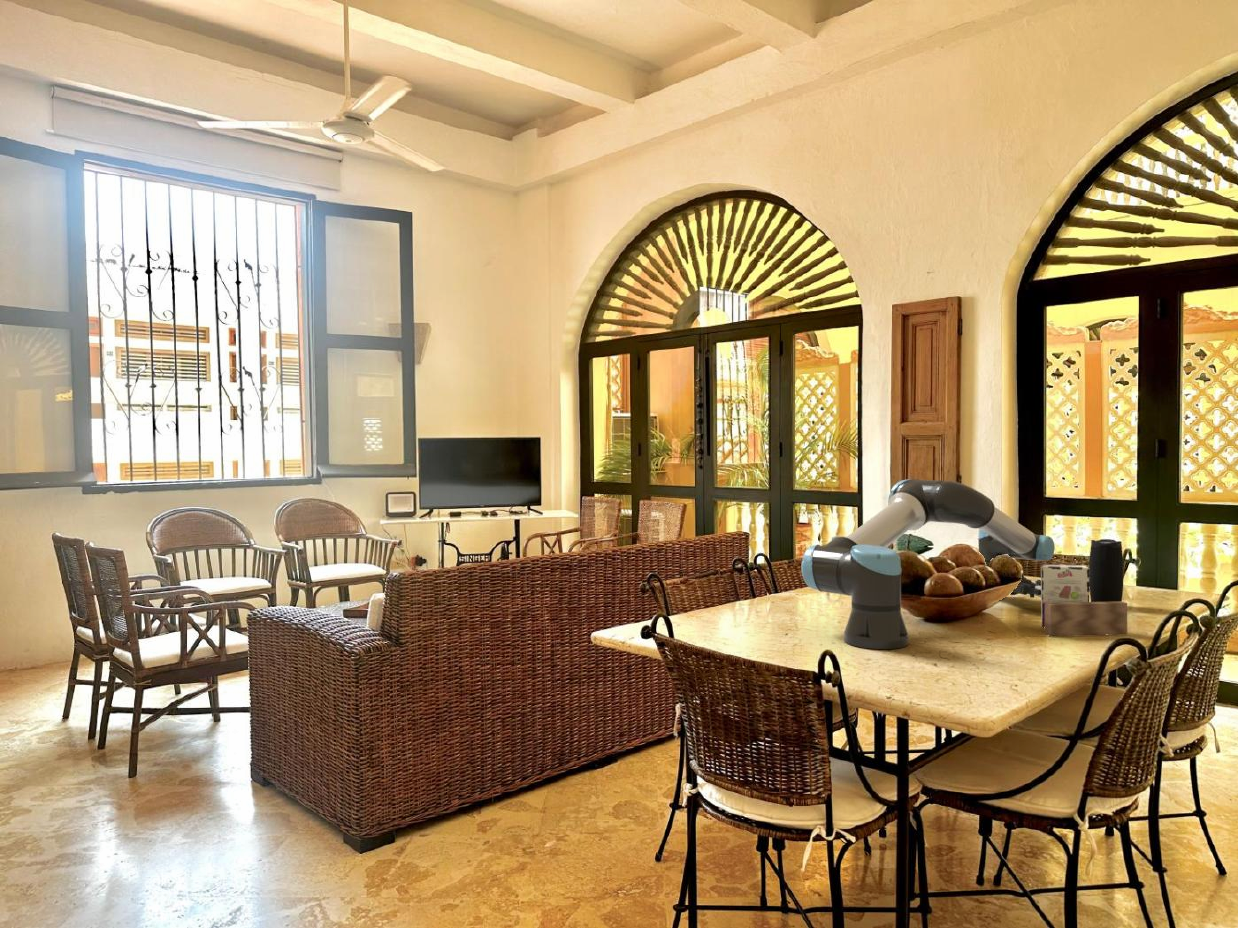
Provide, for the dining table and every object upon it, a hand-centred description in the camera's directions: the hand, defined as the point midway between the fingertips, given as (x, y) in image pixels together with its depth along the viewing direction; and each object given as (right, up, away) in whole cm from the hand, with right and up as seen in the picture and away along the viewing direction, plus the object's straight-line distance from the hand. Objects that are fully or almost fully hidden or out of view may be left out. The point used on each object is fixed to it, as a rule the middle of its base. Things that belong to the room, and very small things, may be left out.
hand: (1050, 594), depth 235 cm
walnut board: (+1, -8, -17) cm, 18 cm away
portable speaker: (+25, -7, +18) cm, 32 cm away
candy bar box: (-1, -8, -9) cm, 11 cm away
